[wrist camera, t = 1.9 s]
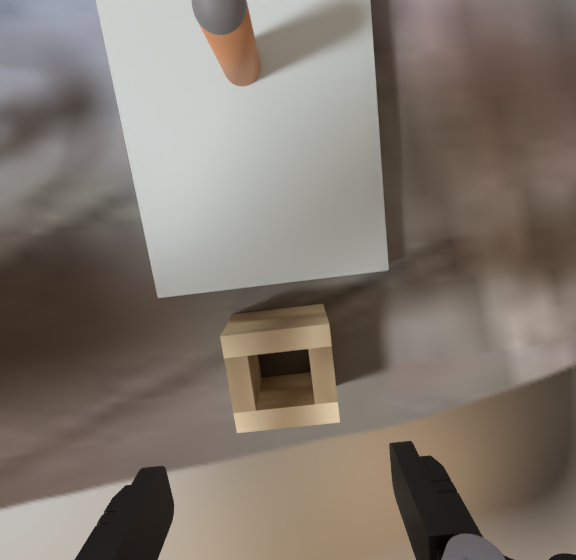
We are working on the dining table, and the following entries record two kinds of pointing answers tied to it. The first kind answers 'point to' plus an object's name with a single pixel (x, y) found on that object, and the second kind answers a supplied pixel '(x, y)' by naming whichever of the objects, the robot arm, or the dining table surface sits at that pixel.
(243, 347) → the square wooden ring
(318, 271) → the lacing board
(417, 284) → the dining table surface
